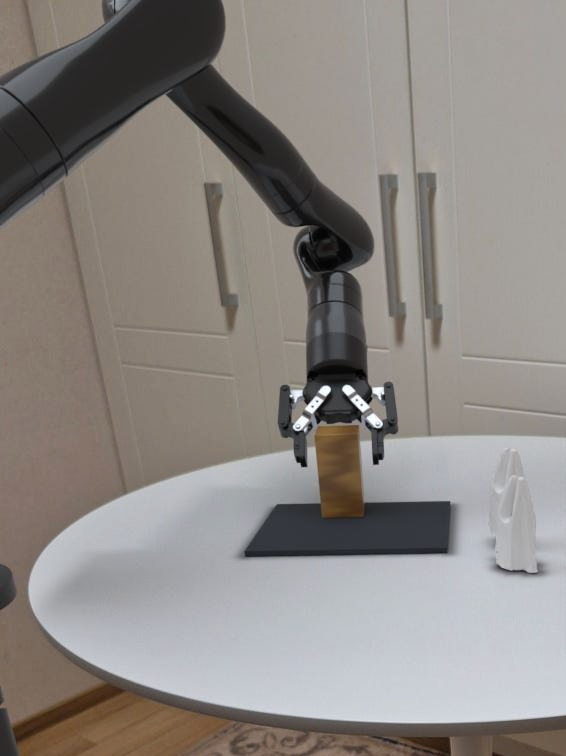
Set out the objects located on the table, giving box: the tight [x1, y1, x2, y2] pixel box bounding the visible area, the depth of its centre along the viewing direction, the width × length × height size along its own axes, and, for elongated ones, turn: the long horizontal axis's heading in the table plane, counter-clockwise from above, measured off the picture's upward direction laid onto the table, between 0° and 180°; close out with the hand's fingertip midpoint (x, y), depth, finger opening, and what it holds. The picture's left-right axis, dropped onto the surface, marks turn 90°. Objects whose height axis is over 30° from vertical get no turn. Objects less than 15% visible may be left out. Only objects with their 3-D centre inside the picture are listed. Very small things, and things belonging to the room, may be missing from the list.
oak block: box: [314, 424, 366, 518], centre depth 107 cm, size 5×5×10 cm
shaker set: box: [487, 447, 539, 574], centre depth 93 cm, size 12×4×11 cm, turn 5°
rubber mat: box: [243, 500, 451, 557], centre depth 104 cm, size 22×18×1 cm
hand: (339, 462), depth 105 cm, fingers open, 8 cm apart
